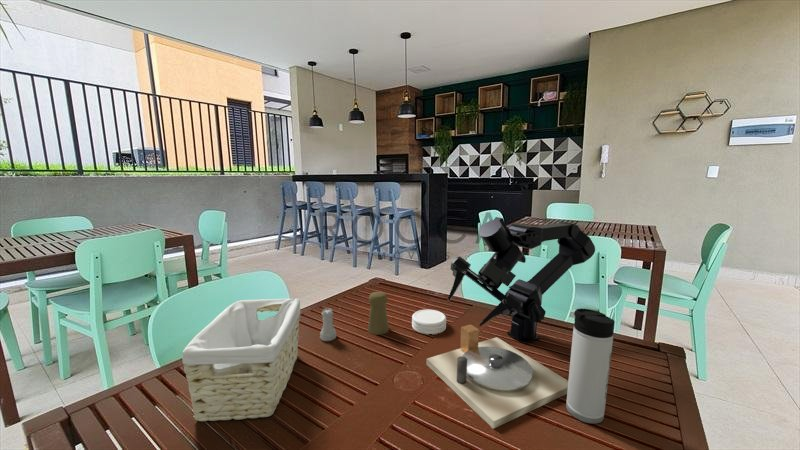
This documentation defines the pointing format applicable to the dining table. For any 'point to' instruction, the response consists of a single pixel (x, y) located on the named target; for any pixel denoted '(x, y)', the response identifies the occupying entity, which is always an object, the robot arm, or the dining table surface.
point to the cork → (378, 314)
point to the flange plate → (498, 376)
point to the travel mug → (589, 365)
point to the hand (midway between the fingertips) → (463, 312)
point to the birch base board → (494, 403)
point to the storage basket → (242, 360)
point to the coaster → (429, 321)
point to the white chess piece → (327, 326)
